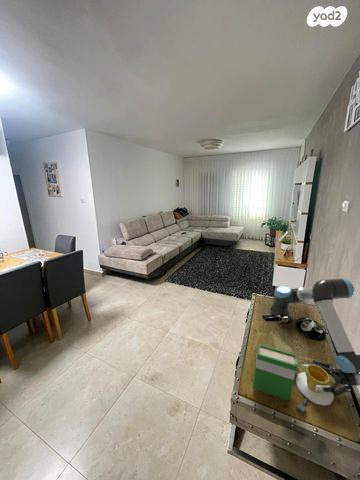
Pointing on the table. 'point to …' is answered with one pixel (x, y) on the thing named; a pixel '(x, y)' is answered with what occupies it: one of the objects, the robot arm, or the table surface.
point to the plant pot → (316, 377)
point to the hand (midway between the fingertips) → (309, 376)
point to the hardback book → (274, 372)
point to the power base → (311, 394)
